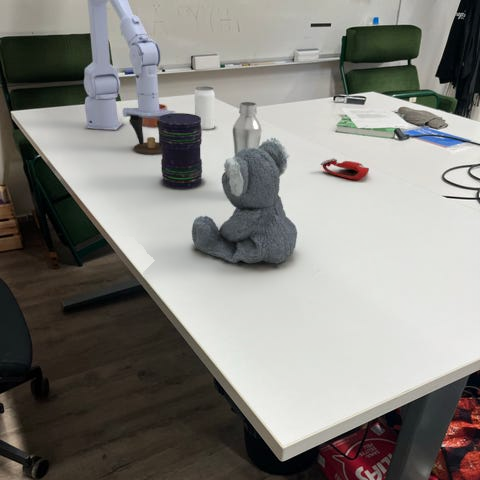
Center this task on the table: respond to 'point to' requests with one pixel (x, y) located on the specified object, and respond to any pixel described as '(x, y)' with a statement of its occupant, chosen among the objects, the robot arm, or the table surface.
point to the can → (205, 106)
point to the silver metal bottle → (246, 128)
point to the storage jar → (181, 150)
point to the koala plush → (251, 210)
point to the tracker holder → (347, 165)
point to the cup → (152, 121)
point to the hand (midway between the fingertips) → (151, 144)
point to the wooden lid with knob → (149, 147)
